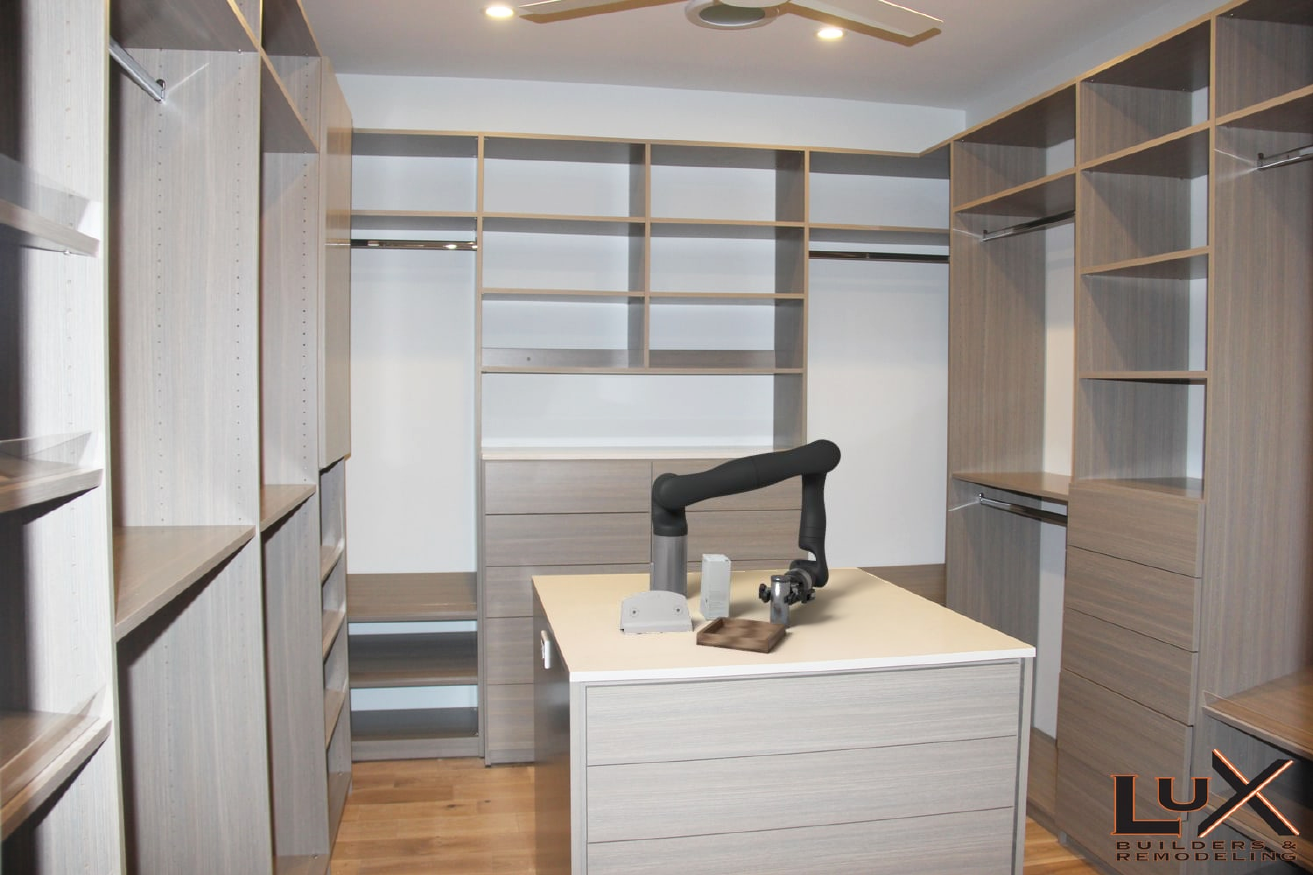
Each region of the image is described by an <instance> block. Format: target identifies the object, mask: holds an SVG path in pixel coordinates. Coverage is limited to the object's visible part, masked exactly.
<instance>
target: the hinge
mask: <svg viewBox="0 0 1313 875" xmlns="http://www.w3.org/2000/svg"><path fill="white" fill-rule="evenodd" d="M688 604H689V603H688V600H687V599H686V597H685V596H683V595H681V594H677V593H674V592H669V591H650V590H646V591H641V592H636V593H634V594H631V595H629V596H626V597H624V598H623V599H622V601H621V611H620V623H619V625H620V626H619V630H620V631H623V634H624V633H646V632H649V633H650V632H675V633H688V632H687V631H689V633H691V632H690V631H693V623H692V620H691V615H690V610H689V605H688ZM622 629H624V630H622Z"/></svg>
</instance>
